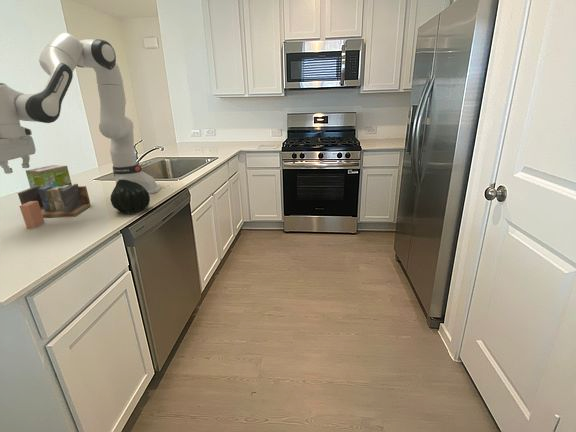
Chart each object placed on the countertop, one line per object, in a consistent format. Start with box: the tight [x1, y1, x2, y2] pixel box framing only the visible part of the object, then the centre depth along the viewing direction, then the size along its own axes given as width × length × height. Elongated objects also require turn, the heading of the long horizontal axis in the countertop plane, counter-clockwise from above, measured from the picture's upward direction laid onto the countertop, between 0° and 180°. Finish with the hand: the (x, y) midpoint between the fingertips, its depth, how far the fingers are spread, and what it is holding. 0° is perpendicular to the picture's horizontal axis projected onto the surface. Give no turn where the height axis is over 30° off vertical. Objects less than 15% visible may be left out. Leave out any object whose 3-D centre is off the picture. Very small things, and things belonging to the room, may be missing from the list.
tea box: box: [25, 164, 73, 188], centre depth 161 cm, size 15×10×15 cm, turn 168°
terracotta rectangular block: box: [19, 201, 45, 229], centre depth 122 cm, size 3×6×9 cm, turn 7°
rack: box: [17, 183, 92, 219], centre depth 136 cm, size 20×14×12 cm
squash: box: [110, 179, 151, 215], centre depth 136 cm, size 14×15×15 cm
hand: (18, 170), depth 116 cm, fingers open, 8 cm apart
